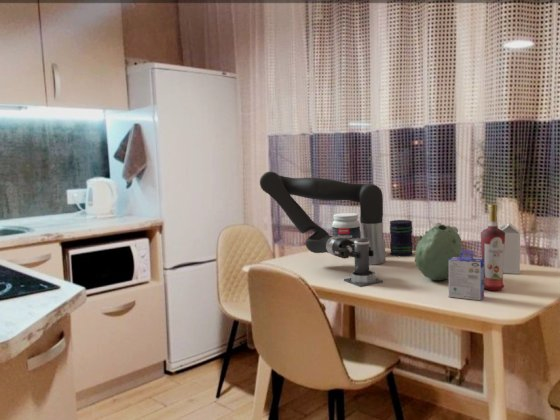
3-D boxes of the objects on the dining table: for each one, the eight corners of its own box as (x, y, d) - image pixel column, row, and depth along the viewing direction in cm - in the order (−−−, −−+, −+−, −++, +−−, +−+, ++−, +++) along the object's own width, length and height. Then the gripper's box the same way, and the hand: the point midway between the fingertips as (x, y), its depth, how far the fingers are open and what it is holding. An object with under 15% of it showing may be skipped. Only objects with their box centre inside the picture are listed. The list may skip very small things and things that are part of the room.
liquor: (485, 292, 156) (485, 206, 153) (477, 286, 163) (477, 204, 160) (508, 291, 156) (509, 205, 152) (499, 285, 163) (499, 203, 160)
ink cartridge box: (484, 296, 152) (484, 251, 151) (481, 301, 148) (481, 254, 146) (452, 292, 158) (451, 249, 156) (448, 297, 153) (447, 252, 151)
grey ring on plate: (365, 276, 183) (365, 268, 183) (382, 282, 174) (382, 273, 174) (343, 280, 179) (343, 272, 178) (359, 286, 170) (359, 277, 169)
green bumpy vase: (405, 282, 173) (404, 226, 170) (430, 271, 186) (429, 219, 184) (448, 289, 162) (447, 230, 160) (471, 276, 175) (470, 222, 173)
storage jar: (415, 252, 220) (415, 220, 218) (409, 257, 212) (408, 223, 210) (394, 251, 225) (393, 219, 224) (387, 255, 217) (386, 222, 215)
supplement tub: (341, 257, 218) (339, 217, 215) (328, 252, 229) (326, 214, 227) (366, 254, 222) (364, 214, 220) (352, 249, 234) (350, 212, 232)
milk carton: (519, 269, 182) (519, 219, 180) (519, 274, 175) (520, 222, 173) (498, 268, 185) (498, 219, 183) (498, 273, 178) (498, 222, 176)
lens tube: (363, 269, 180) (363, 237, 178) (372, 272, 175) (372, 240, 173) (351, 271, 177) (350, 239, 176) (360, 274, 173) (359, 241, 171)
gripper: (323, 239, 184) (349, 246, 169) (354, 235, 191) (382, 241, 176) (324, 259, 185) (349, 267, 170) (355, 254, 192) (382, 262, 177)
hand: (366, 254), depth 173 cm, fingers closed on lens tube, 5 cm apart
